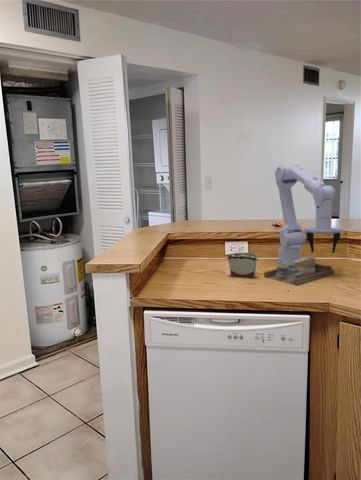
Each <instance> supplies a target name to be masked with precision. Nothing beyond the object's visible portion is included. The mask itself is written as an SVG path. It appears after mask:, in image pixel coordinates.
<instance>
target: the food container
mask: <svg viewBox="0 0 361 480" xmlns="http://www.w3.org/2000/svg"><path fill="white" fill-rule="evenodd" d="M226 260H228V264H229V272H230V278H243V279H252V280H253V279H255V277H256V268H257V262H258V261H259V260H258V256H257V254H256V253H251V252H234V253H233V252H232V253H229V254H228V255H227V258H226Z"/></svg>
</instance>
